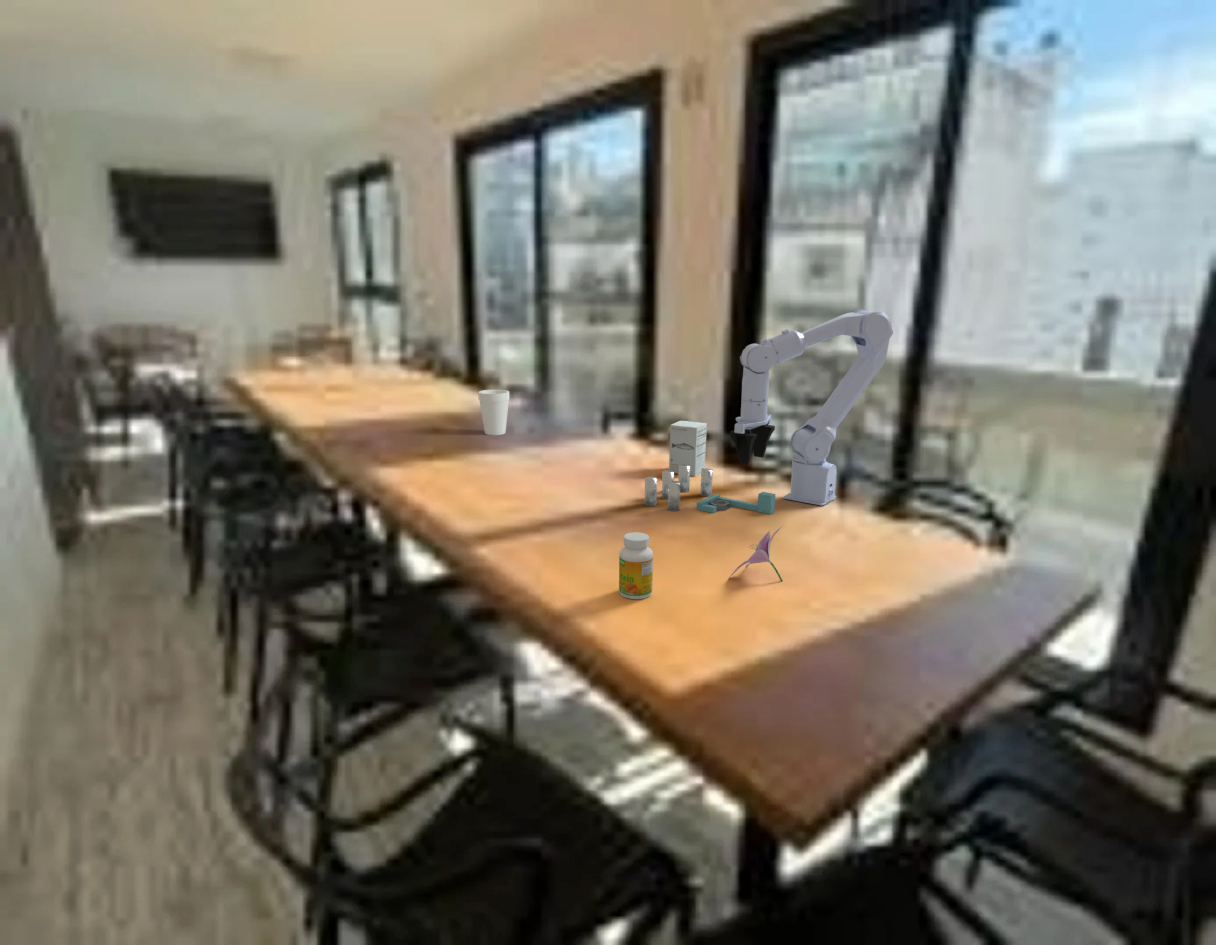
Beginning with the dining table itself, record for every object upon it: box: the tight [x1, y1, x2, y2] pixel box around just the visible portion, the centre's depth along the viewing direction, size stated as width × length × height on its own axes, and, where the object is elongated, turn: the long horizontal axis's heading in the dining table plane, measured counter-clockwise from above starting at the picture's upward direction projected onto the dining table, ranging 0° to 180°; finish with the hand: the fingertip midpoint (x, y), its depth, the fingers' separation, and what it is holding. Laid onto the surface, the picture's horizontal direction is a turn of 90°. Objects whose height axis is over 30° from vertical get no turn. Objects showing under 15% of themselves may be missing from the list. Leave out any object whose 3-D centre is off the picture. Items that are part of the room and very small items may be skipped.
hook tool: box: [696, 491, 776, 515], centre depth 172 cm, size 14×9×4 cm, turn 53°
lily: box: [728, 524, 784, 582], centre depth 135 cm, size 12×12×10 cm
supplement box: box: [668, 420, 708, 477], centre depth 203 cm, size 7×7×13 cm
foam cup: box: [478, 388, 511, 436], centre depth 249 cm, size 10×9×13 cm
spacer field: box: [644, 464, 714, 512], centre depth 180 cm, size 9×17×6 cm, turn 143°
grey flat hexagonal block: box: [709, 500, 731, 512], centre depth 175 cm, size 4×5×1 cm
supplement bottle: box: [618, 532, 654, 600], centre depth 128 cm, size 5×5×10 cm
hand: (751, 460), depth 179 cm, fingers open, 7 cm apart
